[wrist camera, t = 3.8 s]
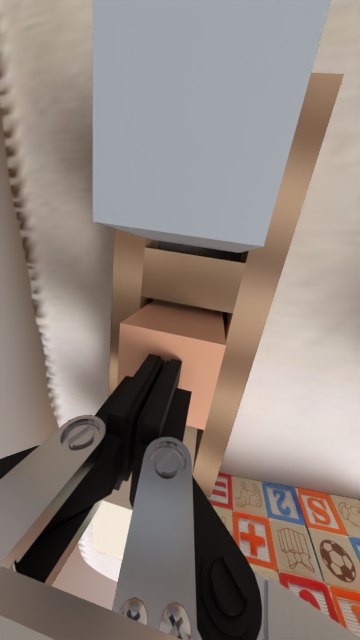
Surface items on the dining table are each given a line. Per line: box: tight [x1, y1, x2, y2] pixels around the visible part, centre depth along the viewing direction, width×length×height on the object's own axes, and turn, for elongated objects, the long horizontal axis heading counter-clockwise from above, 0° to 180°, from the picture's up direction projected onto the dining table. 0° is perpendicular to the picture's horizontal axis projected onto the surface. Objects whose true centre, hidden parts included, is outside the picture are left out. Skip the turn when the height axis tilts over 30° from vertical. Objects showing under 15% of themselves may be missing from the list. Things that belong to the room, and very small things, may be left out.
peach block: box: [117, 299, 226, 430], centre depth 12 cm, size 5×5×6 cm
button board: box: [109, 73, 344, 498], centre depth 14 cm, size 28×10×3 cm, turn 171°
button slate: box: [93, 0, 331, 253], centre depth 7 cm, size 5×5×6 cm
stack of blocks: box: [207, 473, 360, 637], centre depth 15 cm, size 21×6×12 cm, turn 90°
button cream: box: [92, 425, 198, 560], centre depth 13 cm, size 5×5×6 cm
